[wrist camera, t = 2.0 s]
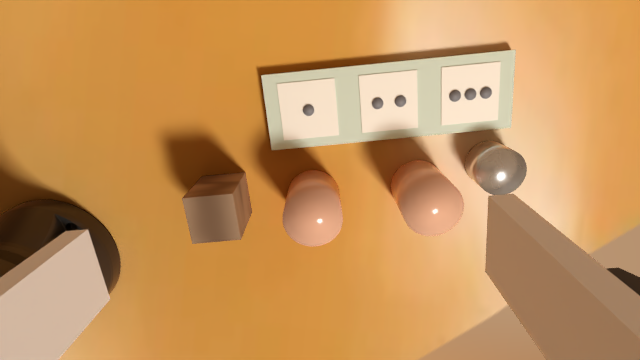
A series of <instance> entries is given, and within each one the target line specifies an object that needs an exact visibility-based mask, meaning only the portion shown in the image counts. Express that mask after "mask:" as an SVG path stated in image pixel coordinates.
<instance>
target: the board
mask: <svg viewBox="0 0 640 360" xmlns="http://www.w3.org/2000/svg"><path fill="white" fill-rule="evenodd" d="M515 54H516V50H504V51H494V52H484V53H474V54H464V55H454V56H444V57H434V58H424V59H414V60H404V61H394V62H384V63H374V64H364V65H355V66H345V67H335V68H325V69H315V70H305V71H295V72H285V73H275V74H265V75H261V78H262V85H263V92H264V99H265V106H266V114H267V121H268V128H269V135H270V142H271V149H272V150H281V149H292V148H302V147H313V146H323V145H334V144H345V143H355V142H366V141H376V140H387V139H397V138H408V137H418V136H429V135H439V134H450V133H460V132H471V131H482V130H492V129H503V128H511V121H512V104H513V88H514V71H515Z"/></svg>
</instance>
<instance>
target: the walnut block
mask: <svg viewBox="0 0 640 360" xmlns="http://www.w3.org/2000/svg"><path fill="white" fill-rule="evenodd" d="M182 200H183V204H184V209H185V213H186V217H187V222H188V226H189V231H190V235H191V240H192V244H196V243H207V242H218V241H230V240H241V238H242V236H243V233H244V231H245V228H246V226H247V223H248V221H249V218H250V216H251V213H252V209H251V203H250V197H249V191H248V185H247V179H246V173H245V172H241V173H230V174H220V175H209V176H202V177H201V178H200V179H199V180H198V181H197V182H196V184H195V185H194V186H193V187H192V188H191V189H190V190H189V191H188V193H187V194H186V195H185V196H184V197H183V198H182Z"/></svg>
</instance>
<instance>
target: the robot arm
mask: <svg viewBox="0 0 640 360" xmlns="http://www.w3.org/2000/svg"><path fill="white" fill-rule="evenodd" d="M485 272H486V273H487V275H488V276H489V277H490V279H491V280H492V282H493V283H494V285H495V286H496V288H497V289H498V290H499V292H500V293H501V295H502V296H503V298H504V299H505V301H506V302H507V303H508V305H509V306H510V308H511V309H512V311H513V312H514V313H515V315H516V316H517V318H518V319H519V321H520V322H521V324H522V325H523V326H524V328H525V329H526V331H527V332H528V334H529V335H530V337H531V338H532V340H533V341H534V342H535V344H536V345H537V347H538V348H539V350H540V351H541V352H542V354H543V355H544V357H545V358H546V360H640V277H637V276H635V275H633V274H631V273H629V272H626V271H624V270H622V269H620V268H609V269H606V268H605V267H603V266H602V265H601V264H600V263H598V262H597V261H596V260H595V259H593V258H592V257H591V256H590V255H588V254H587V253H586V252H585V251H583V250H582V249H581V248H580V247H579V246H577V245H576V244H575V243H574V242H572V241H571V240H570V239H569V238H567V237H566V236H565V235H564V234H562V233H561V232H560V231H559V230H557V229H556V228H555V227H554V226H553V225H551V224H550V223H549V222H548V221H546V220H545V219H544V218H543V217H541V216H540V215H539V214H538V213H536V212H535V211H534V210H533V209H531V208H530V207H529V206H528V205H527V204H525V203H524V202H523V201H522V200H520V199H519V198H518V197H517V196H515V195H514V194H505V195H493V196H489V197H488V220H487V244H486V268H485ZM119 275H120V256H119V252H118V249H117V246H116V244H115V242H114V240H113V238H112V237H111V235H110V234H109V232H108V231H107V230H106V229H105V227H104V226H103V225H102V224H101V223H100V222H99V221H98V220H96V219H95V218H94V217H93V216H91V215H90V214H88V213H87V212H85V211H84V210H82V209H80V208H78V207H76V206H73V205H71V204H68V203H64V202H60V201H55V200H34V201H29V202H25V203H22V204H20V205H18V206H16V207H14V208H12V209H10V210H8V211H6V212H5V213H3V214H1V215H0V360H59V358H60V357H61V356H62V355H63V354H64V353H65V351H66V350H67V349H68V348H69V347H70V346H71V344H72V343H73V342H74V341H75V340H76V339H77V337H78V336H79V335H80V334H81V333H82V332H83V330H84V329H85V328H86V327H87V326H88V325H89V323H90V322H91V321H92V320H93V319H94V318H95V316H96V315H97V314H98V313H99V312H100V311H101V309H102V308H103V307H104V306H105V305H106V304H107V302H108V301H109V300H110V297H109V294H110V293H111V291H112V290H113V289H114V287H115V285H116V283H117V281H118V278H119Z"/></svg>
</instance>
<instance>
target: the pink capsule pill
mask: <svg viewBox="0 0 640 360" xmlns="http://www.w3.org/2000/svg"><path fill="white" fill-rule="evenodd" d="M391 192H392V195H393V197H394V199H395V201H396V203H397V205H398V207H399V209H400V211H401V214H402V216H403V218H404V220H405V222H406V223H407V225H408V226H409V227H410V228H411V229H412V230H413V231H414V232H416V233H418V234H421V235H425V236H437V235H441V234H443V233H446V232H448V231H449V230H451V229H452V228H453V227H454V226H455V225H456V224H457V223H458V222H459V220H460V218H461V216H462V214H463V209H464V202H463V198H462V195H461V193H460V192H459V190H458V189H457V188H456V187H455V186H454V185H453V184H452V183H451V182H450V181H449V180H448V179H447V178H446V177H445V176H444V175H443V174H442V173H441V172H440V171H439V169H438V168H437V167H436V166H434V165H433V164H431V163H429V162H427V161H422V160H415V161H411V162H408V163H406V164H404V165H402V166H401V167H400V168H399V169H398V170H397V171H396V172H395V174H394V176H393V178H392V181H391Z"/></svg>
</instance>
